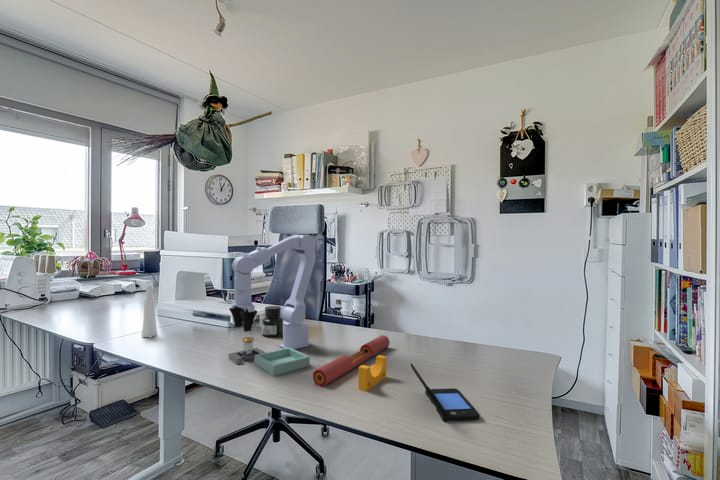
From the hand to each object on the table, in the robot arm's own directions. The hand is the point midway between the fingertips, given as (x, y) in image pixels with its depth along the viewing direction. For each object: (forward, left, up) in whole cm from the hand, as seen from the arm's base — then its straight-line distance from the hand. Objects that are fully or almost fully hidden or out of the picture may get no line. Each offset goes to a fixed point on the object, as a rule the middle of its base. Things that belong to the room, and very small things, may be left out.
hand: (243, 328), depth 122 cm
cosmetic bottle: (+19, -51, -10) cm, 56 cm away
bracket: (-1, +3, -10) cm, 10 cm away
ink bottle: (-22, -19, -10) cm, 31 cm away
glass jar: (-1, +3, -10) cm, 10 cm away
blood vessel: (-27, +31, -11) cm, 42 cm away
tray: (-7, +16, -10) cm, 20 cm away
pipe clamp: (-20, +45, -11) cm, 50 cm away
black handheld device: (-24, +67, -11) cm, 72 cm away
